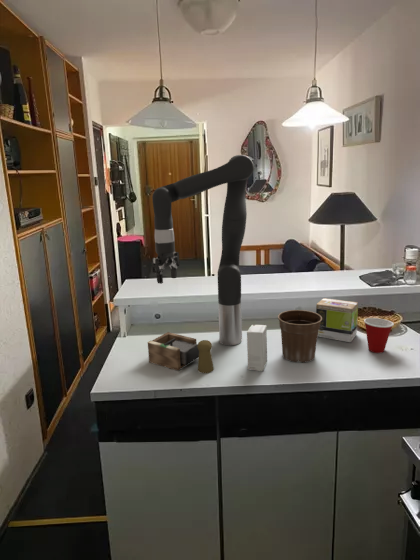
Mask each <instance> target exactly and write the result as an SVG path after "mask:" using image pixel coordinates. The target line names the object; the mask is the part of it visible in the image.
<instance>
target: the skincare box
mask: <svg viewBox="0 0 420 560" xmlns="http://www.w3.org/2000/svg"><path fill="white" fill-rule="evenodd" d="M267 340H268V338H267V325H266V324H265V325H264V324H251V326H250V327H249V328H248V330H247V332H246V342H247V343H246V344H247V346H246V347H247V350H246V351H247V370H250V371H257V372H264V370H265V367H266V365H267V363H268V341H267Z"/></svg>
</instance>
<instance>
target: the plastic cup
mask: <svg viewBox="0 0 420 560" xmlns="http://www.w3.org/2000/svg"><path fill="white" fill-rule="evenodd" d="M363 322H364V326H365V330H366V331H365V333H366V341H367V348H368V350H369V352H372V353H375V354H382V353H383V352H384V351H386V350H385V349H386V347H387V343H388V339H389V337H390V333H391V329H392V328H393V327H394V322H393V321H391V320H389V319H384V318H379V317H367V318H364V320H363Z"/></svg>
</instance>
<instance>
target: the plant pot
mask: <svg viewBox="0 0 420 560" xmlns="http://www.w3.org/2000/svg"><path fill="white" fill-rule="evenodd" d="M277 320H279V321H278V322H279V323H278V324H279V328H280V334H281V335H280V336H281V347H282V348H281V349H282V350H281V351H282V357H283V358H284V359H285V360H286V361H290V362H292V363H298V362H299V363H301V364H302V363H309V362H311V361H313V360H315V357H316V351H317V342H318V330H319V329H320V322H321V321H322V317H321V315H319V314H317V313H316V311H315V312H314V311H312V310H311V311H310V310H306V309H305V310H304V309H291V310H285V311H282V312H280V313H278V315H277Z"/></svg>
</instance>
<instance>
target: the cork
mask: <svg viewBox="0 0 420 560" xmlns="http://www.w3.org/2000/svg"><path fill="white" fill-rule="evenodd" d="M197 344H198V350H199V358H197V359H198V360H197V361H198V362H197V372H199V373H200V374H210V373H212V372H214V370H215V368H214V364H213V363H214V362H213V356H212V351H211V350H212V348H213V345H212V342H211V341H210V340H208V339H204V340H200V341H199V342H198V343H197Z"/></svg>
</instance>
